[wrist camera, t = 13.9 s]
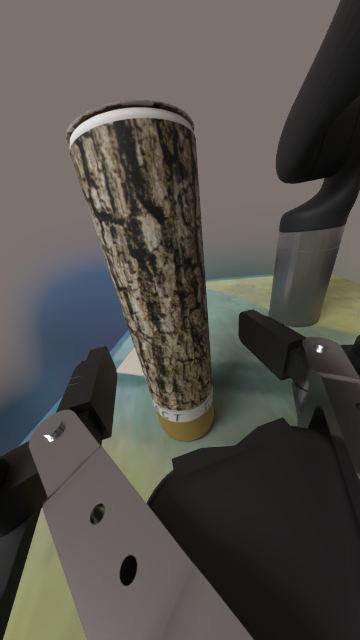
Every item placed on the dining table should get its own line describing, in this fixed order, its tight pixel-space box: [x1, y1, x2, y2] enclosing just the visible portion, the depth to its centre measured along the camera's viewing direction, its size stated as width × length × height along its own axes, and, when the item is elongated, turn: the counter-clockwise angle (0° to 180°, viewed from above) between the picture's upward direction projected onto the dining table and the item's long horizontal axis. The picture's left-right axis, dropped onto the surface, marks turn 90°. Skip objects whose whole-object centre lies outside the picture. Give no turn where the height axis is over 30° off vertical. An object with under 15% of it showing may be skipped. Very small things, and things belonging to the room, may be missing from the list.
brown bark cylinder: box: [66, 100, 214, 442], centre depth 15 cm, size 7×7×25 cm
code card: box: [116, 347, 144, 376], centre depth 33 cm, size 12×12×1 cm
